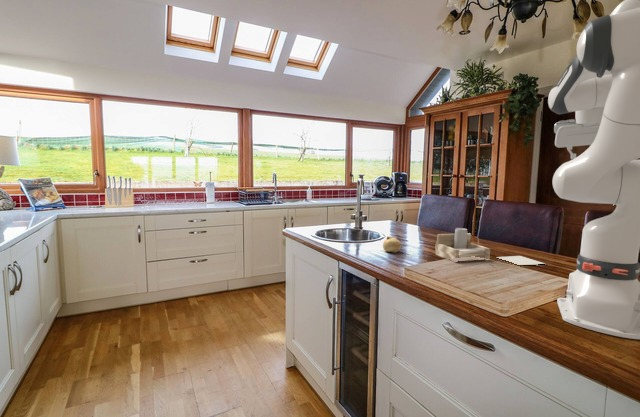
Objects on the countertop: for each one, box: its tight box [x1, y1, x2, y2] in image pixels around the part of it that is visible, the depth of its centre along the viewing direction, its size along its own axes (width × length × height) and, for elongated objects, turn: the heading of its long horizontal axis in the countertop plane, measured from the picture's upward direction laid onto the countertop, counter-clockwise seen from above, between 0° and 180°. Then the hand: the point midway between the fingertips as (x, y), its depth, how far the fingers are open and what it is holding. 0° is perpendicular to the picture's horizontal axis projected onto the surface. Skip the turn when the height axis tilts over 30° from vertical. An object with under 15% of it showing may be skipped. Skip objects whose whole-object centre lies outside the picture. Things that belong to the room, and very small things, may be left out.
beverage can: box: [454, 227, 468, 249], centre depth 140 cm, size 5×5×12 cm
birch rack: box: [434, 232, 491, 260], centre depth 139 cm, size 14×16×9 cm
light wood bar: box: [457, 248, 485, 258], centre depth 134 cm, size 4×12×4 cm, turn 104°
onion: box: [382, 236, 402, 254], centre depth 147 cm, size 8×8×7 cm
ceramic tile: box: [496, 255, 546, 266], centre depth 134 cm, size 12×12×1 cm
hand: (590, 157), depth 114 cm, fingers open, 8 cm apart
